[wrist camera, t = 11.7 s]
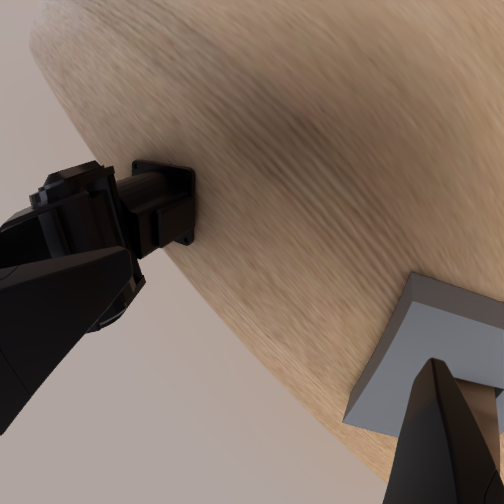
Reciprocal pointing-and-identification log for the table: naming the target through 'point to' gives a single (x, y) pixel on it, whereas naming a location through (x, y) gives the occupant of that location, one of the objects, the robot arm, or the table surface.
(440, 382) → the robot arm
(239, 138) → the table surface
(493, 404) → the walnut peg
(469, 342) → the socket block
